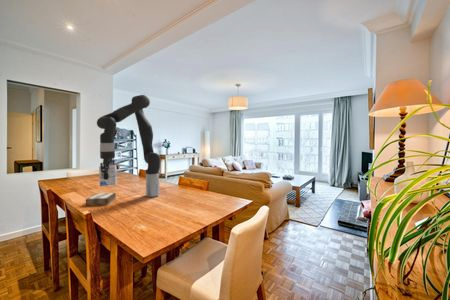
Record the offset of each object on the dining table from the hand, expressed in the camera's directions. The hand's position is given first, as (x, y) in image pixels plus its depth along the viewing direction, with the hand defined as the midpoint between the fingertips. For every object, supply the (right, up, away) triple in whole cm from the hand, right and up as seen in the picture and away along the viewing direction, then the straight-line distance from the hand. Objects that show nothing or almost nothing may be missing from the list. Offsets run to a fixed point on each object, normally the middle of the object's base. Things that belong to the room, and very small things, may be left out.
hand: (108, 178), depth 115 cm
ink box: (0, -4, 0) cm, 4 cm away
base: (-14, -18, +15) cm, 28 cm away
